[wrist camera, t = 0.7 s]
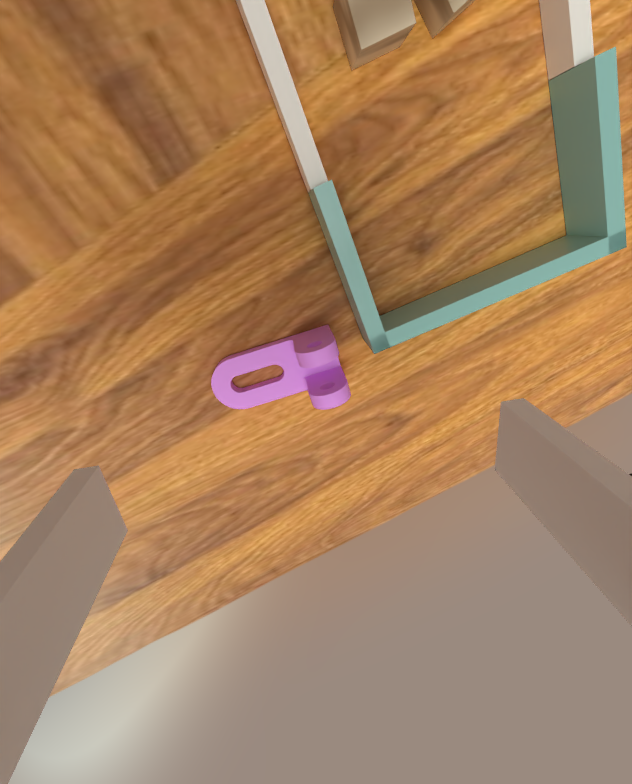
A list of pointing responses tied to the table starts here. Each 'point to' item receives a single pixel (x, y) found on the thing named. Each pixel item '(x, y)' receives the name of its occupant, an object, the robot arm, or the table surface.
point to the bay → (579, 247)
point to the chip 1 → (372, 27)
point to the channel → (562, 49)
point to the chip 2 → (440, 12)
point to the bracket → (286, 372)
